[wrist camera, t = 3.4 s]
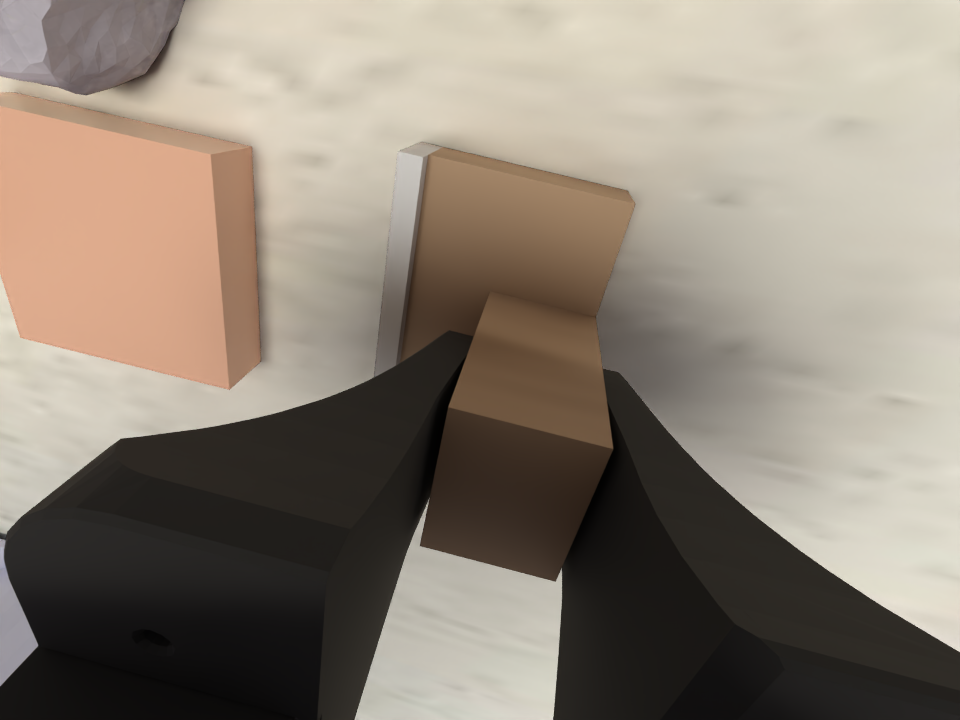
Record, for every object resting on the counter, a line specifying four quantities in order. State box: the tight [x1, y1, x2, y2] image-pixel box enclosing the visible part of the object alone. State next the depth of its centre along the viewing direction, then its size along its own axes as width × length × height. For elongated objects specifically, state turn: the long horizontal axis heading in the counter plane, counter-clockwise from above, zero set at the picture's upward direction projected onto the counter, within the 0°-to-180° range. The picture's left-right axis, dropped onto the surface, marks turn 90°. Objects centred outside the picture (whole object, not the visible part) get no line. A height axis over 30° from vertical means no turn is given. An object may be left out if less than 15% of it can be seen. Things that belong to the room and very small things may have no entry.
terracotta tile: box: [0, 92, 261, 390], centre depth 13 cm, size 6×6×2 cm
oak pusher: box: [374, 142, 635, 582], centre depth 10 cm, size 8×5×6 cm, turn 168°
